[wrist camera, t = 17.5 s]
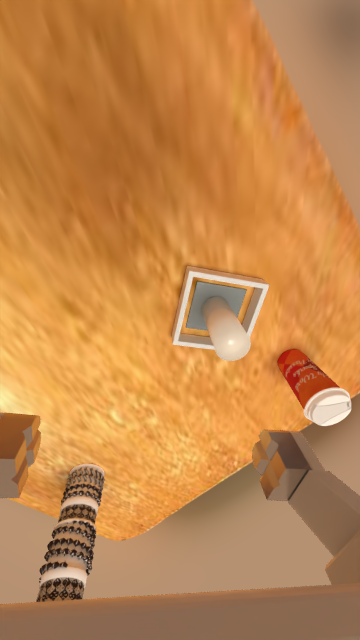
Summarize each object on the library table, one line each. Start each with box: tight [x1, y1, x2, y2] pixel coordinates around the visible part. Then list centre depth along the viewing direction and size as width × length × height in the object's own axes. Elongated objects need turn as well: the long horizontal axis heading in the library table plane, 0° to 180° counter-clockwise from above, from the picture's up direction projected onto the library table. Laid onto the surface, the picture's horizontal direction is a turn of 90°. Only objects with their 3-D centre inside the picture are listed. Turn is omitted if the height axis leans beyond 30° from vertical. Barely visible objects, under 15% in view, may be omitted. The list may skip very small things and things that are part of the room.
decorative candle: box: [36, 463, 105, 602], centre depth 53 cm, size 9×9×25 cm
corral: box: [172, 266, 269, 350], centre depth 45 cm, size 14×14×3 cm
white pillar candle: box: [202, 297, 251, 361], centre depth 41 cm, size 5×5×12 cm
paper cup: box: [278, 349, 351, 426], centre depth 48 cm, size 8×8×14 cm
